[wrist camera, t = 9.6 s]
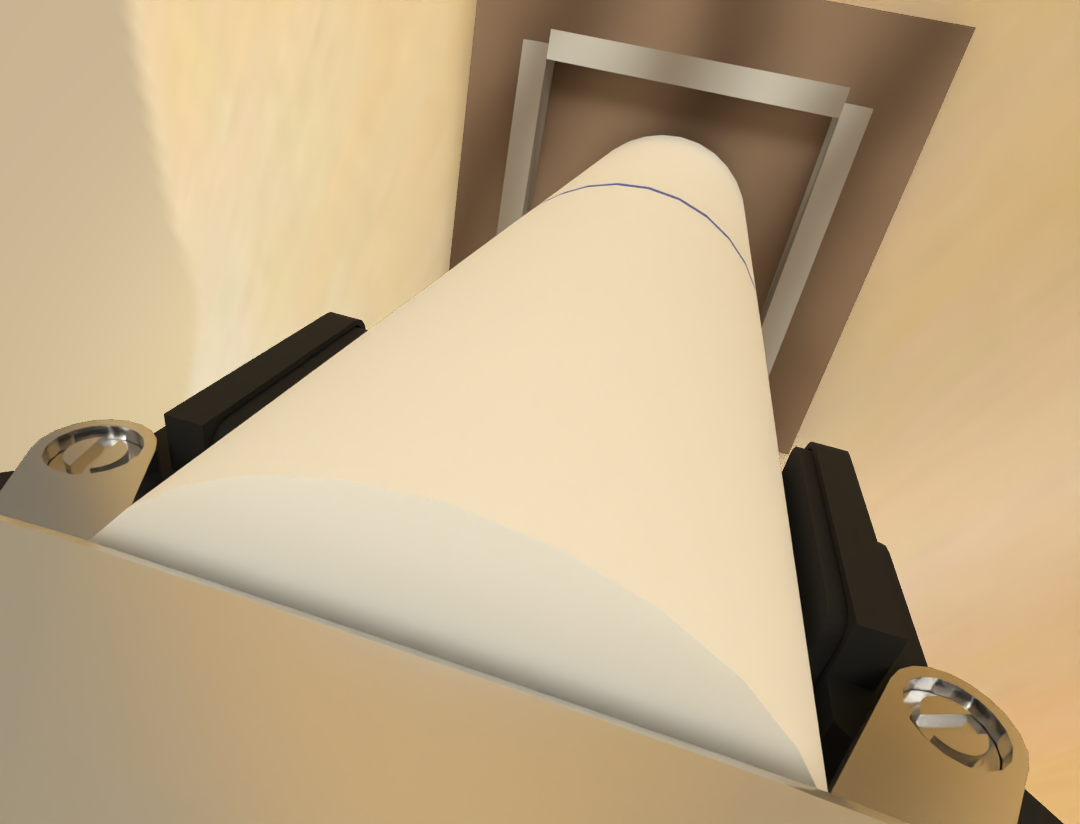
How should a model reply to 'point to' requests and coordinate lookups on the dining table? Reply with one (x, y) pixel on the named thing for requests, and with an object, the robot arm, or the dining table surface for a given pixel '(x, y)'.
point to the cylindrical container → (543, 471)
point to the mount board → (718, 134)
